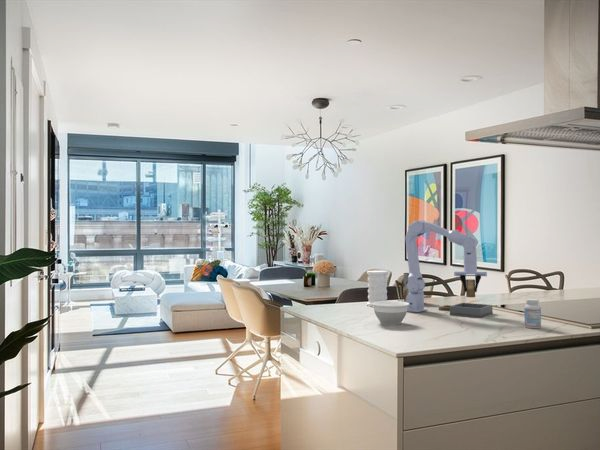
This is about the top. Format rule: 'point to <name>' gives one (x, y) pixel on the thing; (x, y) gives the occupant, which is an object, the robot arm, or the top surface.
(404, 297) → the coffee box
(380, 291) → the decorative container
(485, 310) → the tray
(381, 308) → the bowl
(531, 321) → the pill bottle
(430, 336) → the top surface
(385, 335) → the top surface
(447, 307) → the collar holder
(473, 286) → the dowel
